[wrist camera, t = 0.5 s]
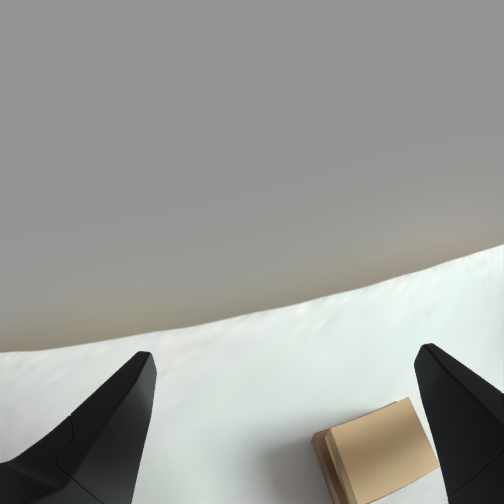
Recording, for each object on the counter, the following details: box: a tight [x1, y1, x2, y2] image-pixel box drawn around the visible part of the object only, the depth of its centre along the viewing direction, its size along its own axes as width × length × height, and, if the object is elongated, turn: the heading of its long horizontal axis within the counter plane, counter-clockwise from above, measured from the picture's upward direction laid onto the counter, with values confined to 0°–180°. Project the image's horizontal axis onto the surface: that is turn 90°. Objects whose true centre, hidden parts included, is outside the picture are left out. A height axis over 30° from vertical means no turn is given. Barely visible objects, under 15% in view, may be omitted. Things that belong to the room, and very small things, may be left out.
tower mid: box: [325, 397, 440, 504], centre depth 16 cm, size 6×6×3 cm
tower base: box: [311, 401, 425, 504], centre depth 18 cm, size 7×7×3 cm
